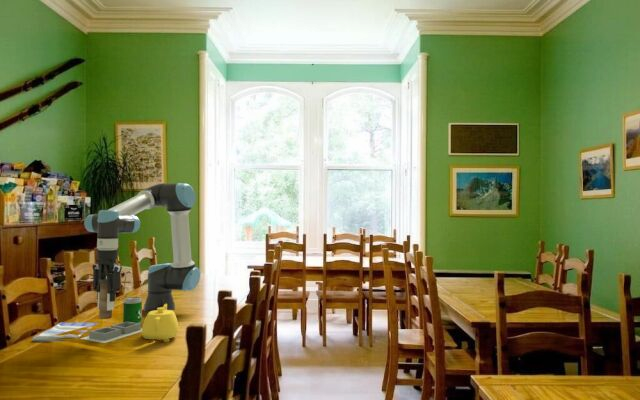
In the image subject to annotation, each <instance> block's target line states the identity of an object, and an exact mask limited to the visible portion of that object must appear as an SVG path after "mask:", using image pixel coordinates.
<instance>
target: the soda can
mask: <svg viewBox="0 0 640 400" xmlns="http://www.w3.org/2000/svg"><path fill="white" fill-rule="evenodd" d="M122 305H123V306H122V307H123V309H122V323H123V322H126V321H127V322H133V323H140V324H142V323H143V322H142V321H143V320H142V318H143V317H142V316H143V315H142V314H143V313H142V312H143V299H142V298H141V297H139V296H128V297H126V298H125V299H124V300H123V303H122Z"/></svg>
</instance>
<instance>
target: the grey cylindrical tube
mask: <svg viewBox="0 0 640 400" xmlns="http://www.w3.org/2000/svg"><path fill="white" fill-rule="evenodd" d="M99 282H100V309H98V310H99V311H98V312H99V313H98V314H99V316H98V317H99V318H98V319H100V320H107V319H112V316H113V315H112V314H113V310H107V292H109V288H108V280H107V277H106V279H99Z"/></svg>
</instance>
